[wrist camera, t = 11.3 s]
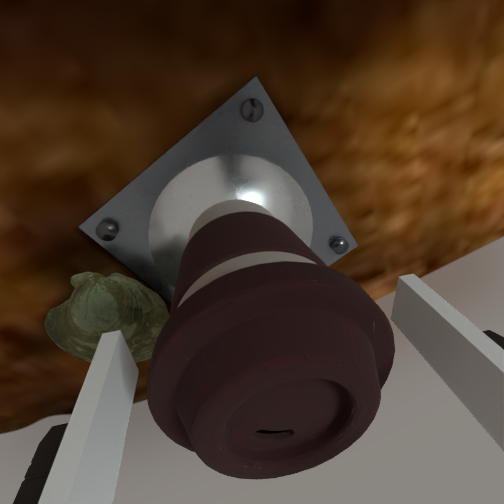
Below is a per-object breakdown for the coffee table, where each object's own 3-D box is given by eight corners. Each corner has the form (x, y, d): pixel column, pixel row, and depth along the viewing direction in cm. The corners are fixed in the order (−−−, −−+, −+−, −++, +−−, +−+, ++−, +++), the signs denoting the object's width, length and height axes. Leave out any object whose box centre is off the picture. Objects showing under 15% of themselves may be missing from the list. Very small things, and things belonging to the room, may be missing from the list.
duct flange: (253, 77, 19) (258, 75, 18) (352, 240, 27) (361, 248, 26) (82, 221, 22) (75, 230, 20) (218, 335, 29) (219, 346, 28)
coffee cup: (241, 149, 20) (338, 246, 7) (316, 242, 24) (460, 406, 11) (141, 240, 22) (66, 458, 9) (229, 311, 26) (267, 522, 13)
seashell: (77, 383, 27) (7, 412, 17) (63, 305, 28) (-9, 292, 19) (187, 345, 29) (180, 352, 19) (169, 276, 30) (153, 250, 21)
